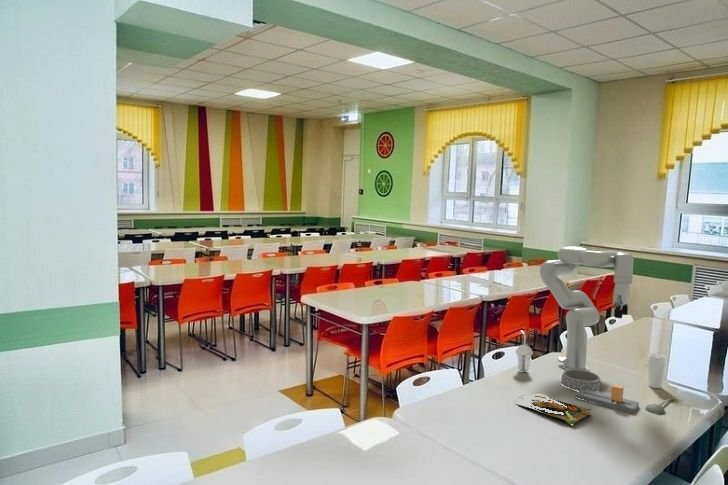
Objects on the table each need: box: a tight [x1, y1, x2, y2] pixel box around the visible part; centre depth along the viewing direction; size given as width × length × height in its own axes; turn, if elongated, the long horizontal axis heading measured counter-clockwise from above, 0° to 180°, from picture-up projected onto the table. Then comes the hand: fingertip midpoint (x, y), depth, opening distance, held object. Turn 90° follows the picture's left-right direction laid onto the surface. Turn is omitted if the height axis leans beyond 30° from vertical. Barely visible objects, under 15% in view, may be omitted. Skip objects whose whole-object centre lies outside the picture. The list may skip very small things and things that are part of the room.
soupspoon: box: [645, 396, 675, 416], centre depth 212 cm, size 22×3×7 cm
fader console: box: [575, 388, 640, 414], centre depth 215 cm, size 23×9×2 cm, turn 50°
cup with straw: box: [514, 330, 534, 372], centre depth 252 cm, size 8×9×20 cm
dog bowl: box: [560, 369, 602, 392], centre depth 235 cm, size 17×18×5 cm
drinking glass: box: [647, 352, 666, 389], centre depth 233 cm, size 7×7×15 cm
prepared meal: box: [520, 391, 592, 425], centre depth 208 cm, size 28×4×18 cm
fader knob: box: [610, 384, 625, 402], centre depth 212 cm, size 4×3×6 cm
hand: (620, 315), depth 232 cm, fingers open, 9 cm apart
